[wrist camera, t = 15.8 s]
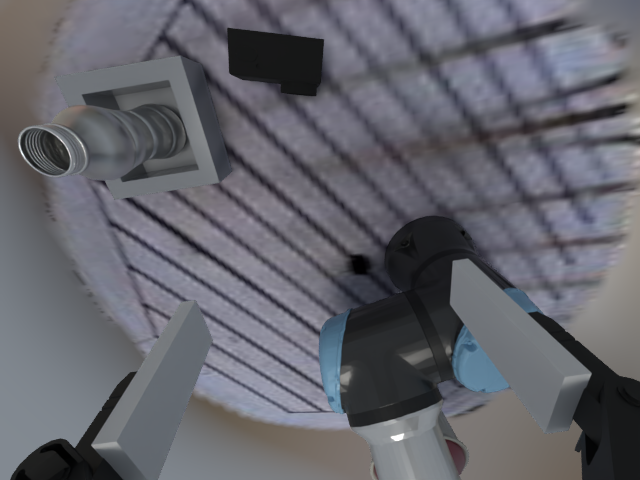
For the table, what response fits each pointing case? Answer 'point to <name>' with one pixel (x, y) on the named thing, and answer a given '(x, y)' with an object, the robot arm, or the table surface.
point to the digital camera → (276, 60)
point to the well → (168, 91)
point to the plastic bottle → (101, 141)
